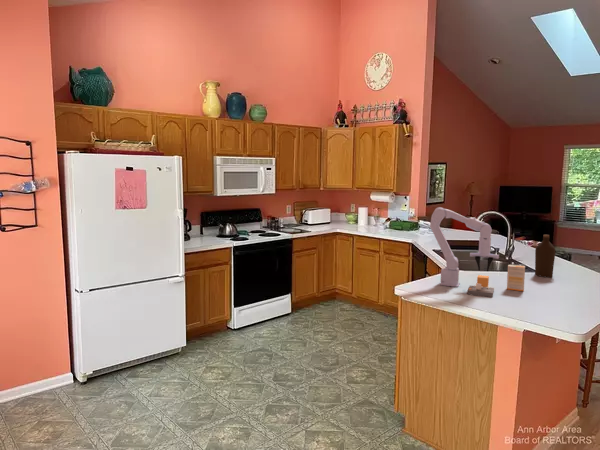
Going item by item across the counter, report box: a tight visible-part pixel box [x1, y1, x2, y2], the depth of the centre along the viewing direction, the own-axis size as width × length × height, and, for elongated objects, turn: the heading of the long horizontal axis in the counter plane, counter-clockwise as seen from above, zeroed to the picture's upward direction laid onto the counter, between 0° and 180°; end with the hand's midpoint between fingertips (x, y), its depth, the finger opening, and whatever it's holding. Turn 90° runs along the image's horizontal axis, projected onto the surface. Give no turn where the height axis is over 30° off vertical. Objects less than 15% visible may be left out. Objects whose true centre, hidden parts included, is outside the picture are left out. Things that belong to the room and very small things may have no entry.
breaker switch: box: [475, 282, 481, 290], centre depth 224 cm, size 2×2×3 cm
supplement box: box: [506, 264, 526, 292], centre depth 231 cm, size 8×5×13 cm, turn 59°
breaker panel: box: [466, 285, 495, 298], centre depth 226 cm, size 12×11×3 cm
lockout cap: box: [476, 274, 490, 287], centre depth 236 cm, size 5×5×6 cm
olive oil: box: [534, 234, 556, 278], centre depth 262 cm, size 11×11×25 cm
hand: (483, 270), depth 236 cm, fingers open, 4 cm apart
